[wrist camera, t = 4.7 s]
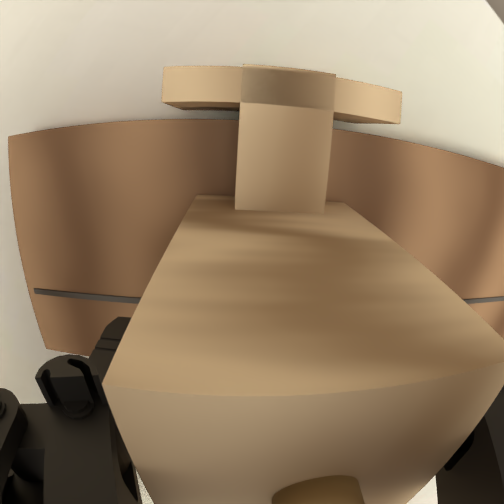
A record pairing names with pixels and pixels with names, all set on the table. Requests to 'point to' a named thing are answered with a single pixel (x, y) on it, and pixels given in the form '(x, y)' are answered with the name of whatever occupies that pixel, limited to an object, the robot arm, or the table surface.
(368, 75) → the table surface
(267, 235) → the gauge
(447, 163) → the board
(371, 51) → the table surface
